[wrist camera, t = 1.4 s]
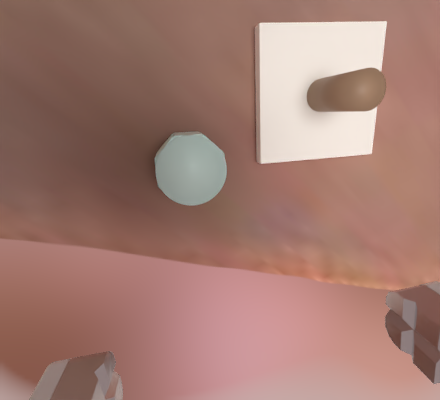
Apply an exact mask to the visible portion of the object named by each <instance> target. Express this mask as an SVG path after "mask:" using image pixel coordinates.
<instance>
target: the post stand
mask: <svg viewBox="0 0 440 400" xmlns="http://www.w3.org/2000/svg"><path fill="white" fill-rule="evenodd" d="M386 25H387V21H383V22H295V23H259V24H258V25H257V26H256V27H255V87H256V158H257V162H258V163H260V164H264V163H276V162H287V161H298V160H309V159H321V158H332V157H343V156H355V155H366V154H372V147H373V138H374V129H375V121H376V112H377V106H378V105H379V104H380V103H381V101H382V99H383V98H384V95H385V92H386V80H385V77H384V75H383V74H382V72H381V68H382V60H383V51H384V42H385V34H386Z"/></svg>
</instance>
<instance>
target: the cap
mask: <svg viewBox="0 0 440 400" xmlns="http://www.w3.org/2000/svg"><path fill="white" fill-rule="evenodd" d="M154 160H155V167H156V178H157V183H158V186H159V188H160V189H161V190H162V191H163V193H164V194H165V195H166V196H167V197H168V198H170V199H171V200H173V201H175V202H177V203H179V204H183V205H199V204H203V203H205V202H208V201H209V200H211V199H212V198H214V197H215V196H216V195H217V194H218V193H219V191H220V190H221V189H222V187H223V185H224V183H225V180H226V174H227V166H226V161H225V155H224V152H223V151H222V150H220V149H219V148H218V147H217V146H216V145H215V144H214V143H213V142H212V141H210V140H209V139H208V138H207V137H206V136H205V135H204V134H202V133H201V132H198V131H192V132H177V133H174V134H171V136H170V137H169V138H168V139H167V140H166V142H165V143H164V144H163V145H162V146H161V148H160V149H159V150H158V151H157V153H156V156H155V159H154Z"/></svg>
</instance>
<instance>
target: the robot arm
mask: <svg viewBox="0 0 440 400" xmlns="http://www.w3.org/2000/svg"><path fill="white" fill-rule="evenodd" d="M386 305H387V306H388V307H389V308H390V310H389V312H388V313H387V315H386V317H385V326H386V329H387V332H388V334H389V337H390V338H391V340H392V341H393V343H394V344H395V345H396V346H397V347H398V348H399V349H400V350H402V351H404V352H406V353H408V354H410V355H412V360H413V363H414V364H415V365H416V366H417V367H418V368H419V369H420V370H421V371H422V372H423V373H424V374H425V375H426V376H427V377H428V378H429V379H430V380H431V382H432V383H434V384H436V383H440V282H437V281H435V282H430V283H426V284H422V285H419V286H414V287H410V288H405V289H401V290H396V291H392V292H389V293H388V295H387V296H386ZM115 363H116V361H115V358H114V355H113V353H112V352H110V351H108V352H103V353H97V354H91V355H86V356H81V357H75V358H72V359H67V360H61V361H56V362H52V363H51V364H50V365H49V366H48V367H47V369H46V370H45V372H44V374H43V376H42V377H41V379H40V381H39V383H38V385H37V387H36V388H35V390H34V392H33V394H32V395H31V397H30V399H29V400H122V396H123V389H122V382H121V379H120V375H119V374H117V373H116V372H114V371H113V370H114V367H115Z"/></svg>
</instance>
